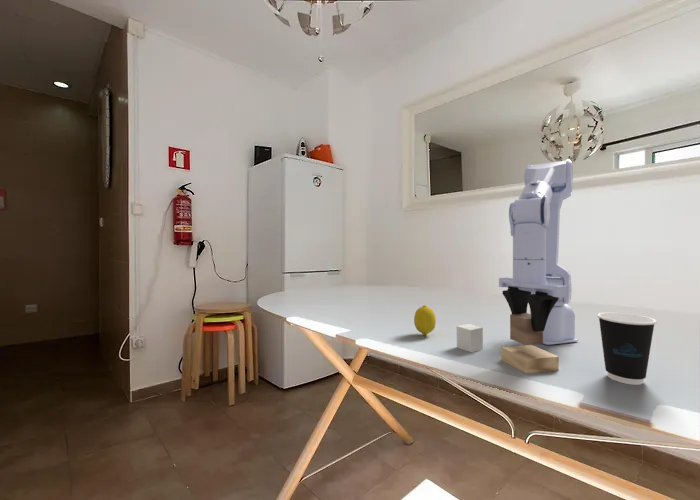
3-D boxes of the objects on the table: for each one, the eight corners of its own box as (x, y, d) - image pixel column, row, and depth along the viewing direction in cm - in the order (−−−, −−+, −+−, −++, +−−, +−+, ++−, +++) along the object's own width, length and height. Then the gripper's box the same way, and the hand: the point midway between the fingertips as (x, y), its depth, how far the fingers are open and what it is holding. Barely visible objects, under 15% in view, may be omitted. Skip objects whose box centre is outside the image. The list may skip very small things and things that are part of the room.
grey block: (468, 344, 76) (468, 323, 76) (482, 349, 73) (482, 327, 73) (456, 347, 74) (456, 326, 74) (470, 352, 71) (470, 330, 71)
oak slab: (531, 358, 67) (531, 344, 67) (558, 372, 61) (558, 356, 60) (501, 361, 66) (501, 347, 66) (525, 375, 59) (526, 359, 59)
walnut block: (526, 337, 65) (526, 312, 65) (542, 343, 62) (542, 317, 61) (510, 339, 64) (510, 314, 64) (525, 345, 61) (525, 318, 60)
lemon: (436, 339, 81) (436, 307, 81) (414, 338, 82) (413, 307, 82) (435, 332, 86) (434, 303, 86) (414, 332, 87) (414, 302, 87)
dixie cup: (627, 369, 60) (627, 311, 60) (669, 388, 53) (670, 322, 52) (585, 370, 60) (586, 312, 60) (622, 389, 52) (622, 323, 52)
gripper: (486, 258, 69) (487, 320, 69) (543, 261, 55) (543, 340, 55) (514, 257, 71) (514, 318, 71) (575, 260, 57) (575, 336, 57)
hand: (528, 327), depth 63 cm, fingers closed on walnut block, 4 cm apart
